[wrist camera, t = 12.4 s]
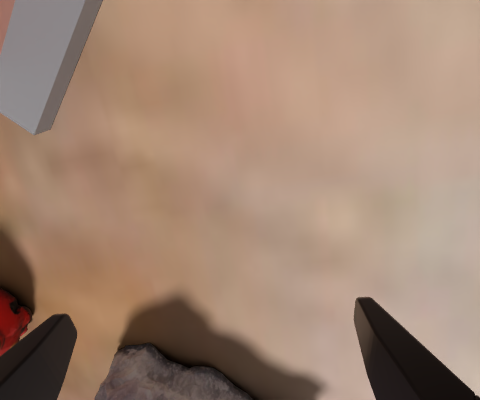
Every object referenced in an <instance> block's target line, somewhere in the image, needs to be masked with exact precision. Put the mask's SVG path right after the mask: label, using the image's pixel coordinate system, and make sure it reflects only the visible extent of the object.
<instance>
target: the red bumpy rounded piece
mask: <svg viewBox="0 0 480 400" xmlns="http://www.w3.org/2000/svg"><path fill="white" fill-rule="evenodd" d="M31 319H32V312H31V310H30V309H29V308H27V307H26V306H21V307H20V306H19V305H18V304H17V299H16V298H15V297H14V296H12V295H11V294H10V293H9V292H8V291H6V290H3V289H1V288H0V356H1V355H2V354H4V353H5V352H6V351H7V350H9V349H10V348H11V347H13V346H14V345H15V344H16V343H18V342H19V339H20V336H22V335H23V334H24V333H25V332H26V331H27V330H28V329H27V325H28V322H29V321H30V320H31Z"/></svg>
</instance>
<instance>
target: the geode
mask: <svg viewBox="0 0 480 400" xmlns="http://www.w3.org/2000/svg"><path fill="white" fill-rule="evenodd" d="M95 400H253V399H252V398H251V397H250V396H249V395H248V394H247V393H246V392H244V391H242V390H241V389H239V388H237V387H236V386H235V385H234V384H232V383H231V382H230V381H229V380H228V379H227V378H226V377H225V376H224V375H223V374H222V373H220V372H219V371H217V370H216V369H214V368H211V367H205V366H194V367H192V368H188V367H185V366H183V365H180V364H178V363H175V362H172V361H169V360H167V359H166V358H165V357H164V356H163V355H162V354H161V353H160V352H159V351H158V350H157V349H156V348H155V347H154V346H153V345H152V344H151V343H147V344H142V345H128V346H125V348H123V349H121V350H118V351H117V352H116V354H115V355H114V359H113V361H112V364H111V366H110V371H109V374H108V375H107V377H106V379H105V380H104V382H103V383H102V384H101V385H100V388H99V391H98V393H97V394H96V396H95Z"/></svg>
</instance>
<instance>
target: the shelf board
mask: <svg viewBox="0 0 480 400" xmlns="http://www.w3.org/2000/svg"><path fill="white" fill-rule="evenodd" d="M102 1H103V0H15V3H14V7H13V10H12V14H11V18H10V21H9V25H8V29H7V32H6V36H5V40H4V43H3V47H2V51H1V54H0V113H2V114H3V115H5V116H6V117H8V118H9V119H11V120H12V121H14V122H15V123H16V124H18V125H19V126H21V127H22V128H24V129H25V130H27V131H28V132H30V133H31V134H33V135H36V134H39V133H42V132H45V131H47V130H50V129H51V126H52V124H53V122H54V119H55V117H56V114H57V112H58V109H59V107H60V104H61V102H62V99H63V97H64V94H65V92H66V89H67V87H68V84H69V82H70V80H71V77H72V75H73V72H74V70H75V67H76V65H77V62H78V60H79V57H80V55H81V52H82V50H83V47H84V45H85V43H86V40H87V38H88V35H89V33H90V30H91V28H92V25H93V23H94V20H95V18H96V15H97V13H98V10H99V8H100V5H101V3H102Z"/></svg>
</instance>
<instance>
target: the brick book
mask: <svg viewBox="0 0 480 400" xmlns="http://www.w3.org/2000/svg"><path fill="white" fill-rule="evenodd" d="M14 3H15V0H0V54H1V51H2V47H3V43H4V40H5V36H6V32H7V29H8V25H9V21H10V18H11V14H12V10H13V7H14Z"/></svg>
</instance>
